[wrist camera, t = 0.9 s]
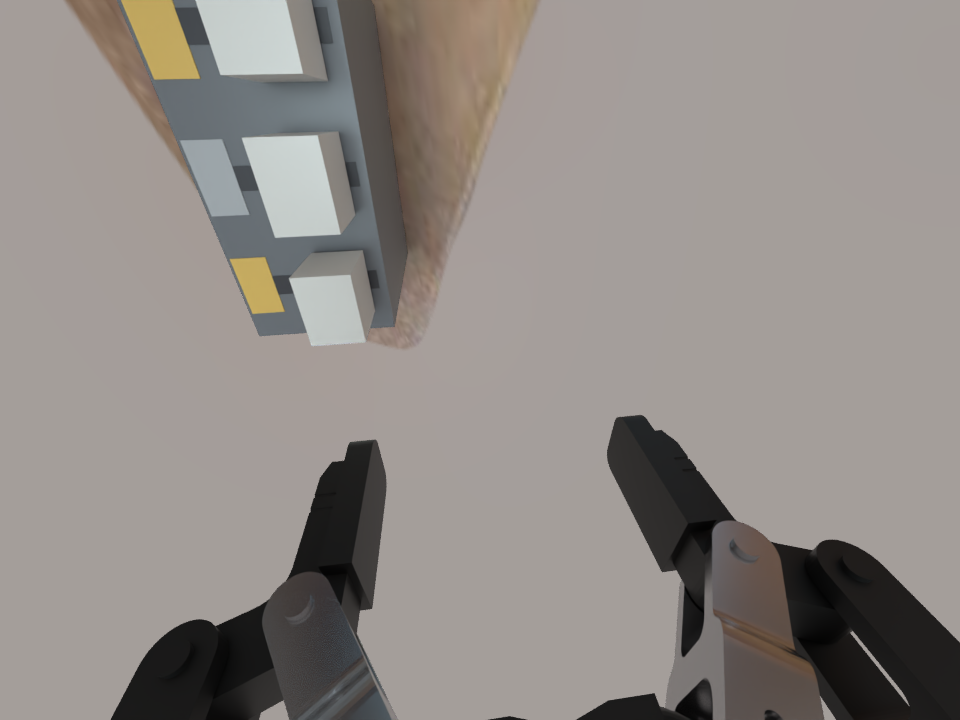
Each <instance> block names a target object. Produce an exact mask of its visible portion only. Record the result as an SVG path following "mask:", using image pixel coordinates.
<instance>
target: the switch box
mask: <svg viewBox="0 0 960 720" xmlns="http://www.w3.org/2000/svg"><path fill="white" fill-rule="evenodd" d="M117 1H118V4H119V6H120V9H121V11H122V13H123V16H124V18H125V20H126V23H127V25H128V27H129V30H130V32H131V34H132V37H133V39H134V42H135V44H136V46H137V49H138V51H139V53H140V56H141V58H142V60H143V63H144V65H145V67H146V70H147V72H148V75H149V77H150V79H151V82H152V84H153V86H154V89H155V91H156V93H157V96H158V98H159V100H160V103H161V105H162V108H163V110H164V112H165V115H166V117H167V119H168V122H169V124H170V126H171V129H172V131H173V133H174V136H175V138H176V141H177V143H178V145H179V148H180V150H181V152H182V155H183V157H184V159H185V162H186V164H187V166H188V169H189V171H190V174H191V176H192V178H193V181H194V183H195V185H196V188H197V190H198V192H199V195H200V197H201V199H202V201H203V204H204V206H205V209H206V211H207V214H208V216H209V218H210V221H211V223H212V225H213V227H214V230H215V232H216V235H217V237H218V239H219V242H220V244H221V247H222V249H223V251H224V254H225V256H226V258H227V261H228V263H229V265H230V268H231V270H232V273H233V275H234V277H235V279H236V282H237V284H238V287H239V289H240V291H241V294H242V296H243V298H244V301H245V303H246V305H247V308H248V310H249V313H250V315H251V317H252V320H253V322H254V324H255V327H256V329H257V331H258V334H259V336H268V335H281V334H282V335H283V334H297V333H307V331H306V328H305V325H304V322H303V319H302V316H301V313H300V310H299V307H298V304H297V301H296V298H295V295H294V292H293V289H292V286H291V283H290V280H289V278H290V277H291V275H292V274H293V273H294V272H295V271H296V270H297V269H298V267H299V266H300V265H301V264H302V263H303V262H304V260H305V259H306V258H307V257H308V256H309V255H310V254H311V253H321V252H339V251H358V250H363V254H364V259H365V264H366V269H367V273H368V278H369V283H370V288H371V293H372V298H373V303H374V308H375V313H374V316H373V320H372V323H371V327H370V328H382V327H395V321H396V316H397V310H398V304H399V299H400V293H401V288H402V282H403V276H404V271H405V265H406V259H407V254H408V252H407V245H406V238H405V230H404V223H403V216H402V208H401V201H400V193H399V186H398V179H397V171H396V164H395V156H394V149H393V142H392V134H391V127H390V120H389V112H388V105H387V97H386V90H385V83H384V75H383V68H382V60H381V53H380V46H379V38H378V31H377V24H376V16H375V9H374V4H373V3H372V1H371V0H312V5H313V10H314V15H315V20H316V25H317V30H318V35H319V39H320V44H321V49H322V54H323V59H324V64H325V69H326V74H327V78H328V81H314V82H257V81H251V80H245V79H240V78H234V77H229V76H223V75H220V72H219V69H218V66H217V63H216V60H215V57H214V54H213V51H212V48H211V45H210V42H209V39H208V36H207V33H206V30H205V27H204V24H203V21H202V18H201V16H200V13H199V10H198V7H197V4H196V1H195V0H117ZM334 131H338V132H339V137H340V142H341V147H342V152H343V156H344V161H345V166H346V171H347V176H348V181H349V186H350V191H351V195H352V200H353V205H354V210H355V216H354V218H353V219H352V220H351V222H350V223H349V224H348V226H347V227H346V228H345V230H344V231H343V232H342V234H341V235H321V236H301V237H281V238H275V236H274V233H273V230H272V227H271V224H270V221H269V218H268V215H267V212H266V209H265V206H264V203H263V200H262V197H261V194H260V191H259V188H258V185H257V182H256V179H255V176H254V173H253V170H252V167H251V164H250V161H249V158H248V155H247V152H246V149H245V146H244V144H243V141H242V138H243V137H250V136H258V135H266V134H274V133H299V132H334Z"/></svg>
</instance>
